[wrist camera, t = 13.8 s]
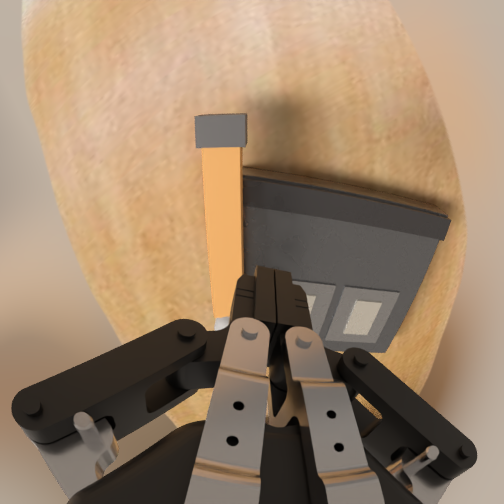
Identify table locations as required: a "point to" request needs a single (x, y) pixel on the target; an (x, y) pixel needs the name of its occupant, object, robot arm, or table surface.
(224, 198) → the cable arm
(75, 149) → the table surface
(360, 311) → the plate
